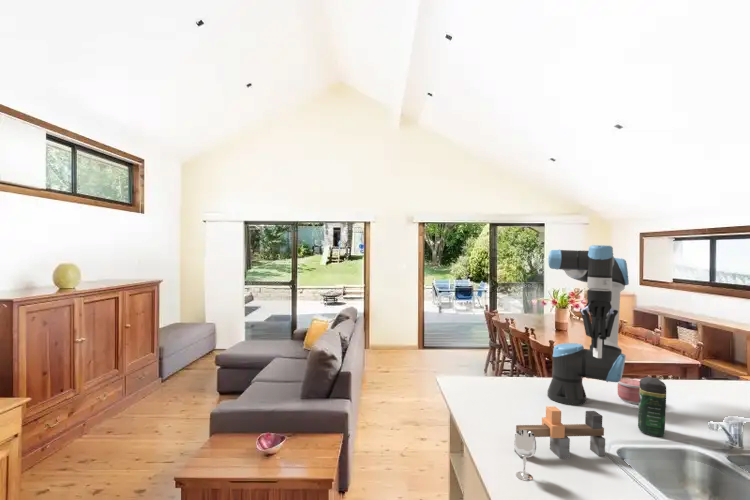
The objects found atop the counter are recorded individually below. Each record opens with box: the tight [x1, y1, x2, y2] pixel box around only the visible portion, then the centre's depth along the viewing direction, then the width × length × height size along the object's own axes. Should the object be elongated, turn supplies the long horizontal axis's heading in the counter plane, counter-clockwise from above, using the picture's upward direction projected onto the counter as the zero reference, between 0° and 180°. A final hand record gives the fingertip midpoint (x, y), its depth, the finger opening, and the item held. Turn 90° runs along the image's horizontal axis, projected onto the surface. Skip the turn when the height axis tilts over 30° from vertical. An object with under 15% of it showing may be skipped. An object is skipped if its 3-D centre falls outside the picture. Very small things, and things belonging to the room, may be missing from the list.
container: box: [616, 378, 640, 405], centre depth 179 cm, size 10×10×8 cm
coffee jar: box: [637, 376, 667, 437], centre depth 149 cm, size 10×8×19 cm
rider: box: [541, 406, 565, 438], centre depth 130 cm, size 6×4×8 cm, turn 6°
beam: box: [514, 410, 606, 459], centre depth 131 cm, size 6×27×12 cm, turn 96°
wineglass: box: [513, 430, 537, 482], centre depth 117 cm, size 6×6×12 cm
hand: (597, 357), depth 146 cm, fingers closed
